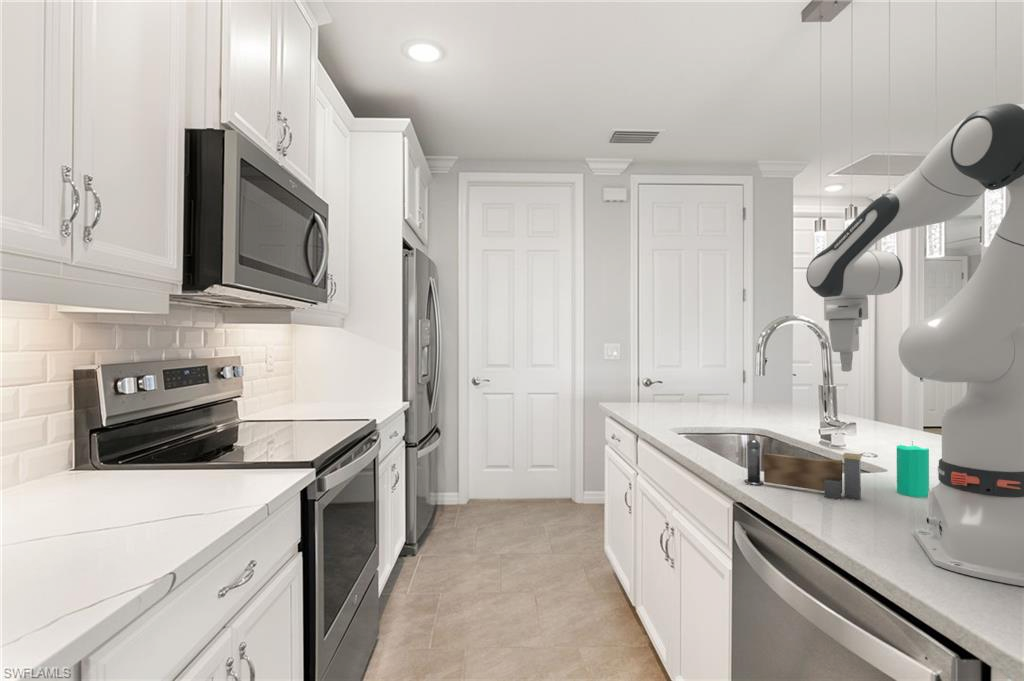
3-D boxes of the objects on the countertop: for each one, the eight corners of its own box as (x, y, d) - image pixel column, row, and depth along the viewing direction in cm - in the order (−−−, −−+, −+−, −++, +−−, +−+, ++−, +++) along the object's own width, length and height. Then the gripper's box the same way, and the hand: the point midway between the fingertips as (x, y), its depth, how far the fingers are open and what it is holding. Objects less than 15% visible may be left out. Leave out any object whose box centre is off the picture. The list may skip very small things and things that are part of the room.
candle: (934, 498, 117) (933, 444, 117) (902, 496, 119) (901, 442, 119) (923, 490, 122) (922, 439, 122) (892, 488, 124) (892, 437, 124)
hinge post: (761, 486, 127) (761, 441, 127) (742, 483, 130) (741, 439, 130) (765, 482, 131) (765, 438, 130) (746, 479, 133) (746, 437, 133)
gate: (764, 482, 128) (763, 452, 128) (765, 480, 129) (765, 451, 129) (841, 493, 118) (841, 461, 118) (842, 492, 119) (842, 460, 119)
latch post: (859, 502, 114) (859, 458, 114) (824, 497, 118) (824, 454, 118) (861, 497, 118) (861, 454, 118) (827, 492, 122) (827, 450, 122)
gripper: (835, 315, 135) (836, 369, 135) (824, 311, 119) (825, 372, 119) (865, 314, 131) (866, 369, 131) (857, 309, 115) (858, 373, 115)
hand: (846, 371), depth 125 cm, fingers closed
